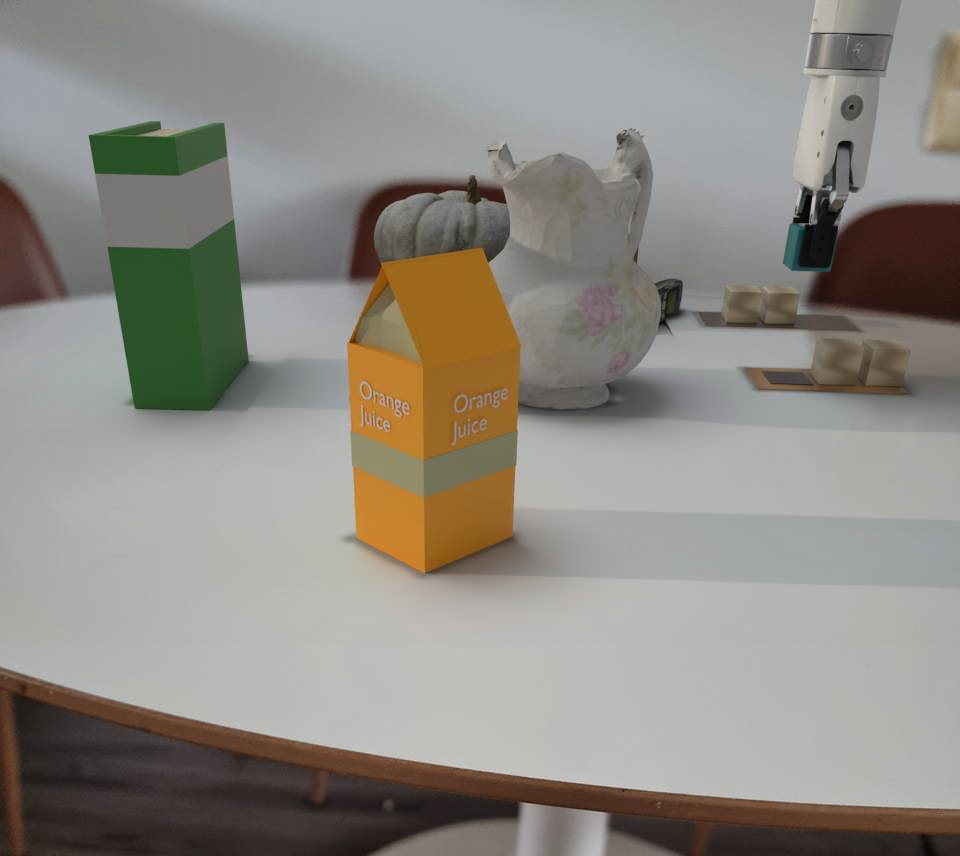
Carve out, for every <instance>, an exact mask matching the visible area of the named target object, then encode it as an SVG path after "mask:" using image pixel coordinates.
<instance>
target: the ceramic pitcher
mask: <svg viewBox="0 0 960 856" xmlns="http://www.w3.org/2000/svg"><path fill="white" fill-rule="evenodd" d="M636 130H637V128H632V127H630V128H629V129H623V130H620V131H619V132H618V134H616V138H615V139H616V148H615V151H614V153H613V156H612V159H611V160H610V161H609V162H608V164H607V165H606V166H605V167H604V168H592V166H590V165H589V164H588V162H587V161H585V160H584V159H581V158H578V157H576V156H574V155H571V154H568V153H566V152H564V151H560V152H557V153H553V154H549V155H547V156H545V157H543V158H541V159H537V160H536V159H535V160H527V161H526V160H521V161H519V162H514V159H513V156H512V153H511V151H510V149H509V146H508V143H507V140H497V141H494V142H492V144H491V145H490V144H489V145H485V146H484V147H485V150H486V151H487V166H488V169H489V173H490V175H491V178H492V179H493V180H494V181H495V182H496V183H497V184H498V185H500V186H502V190H503V193H504V197H505V198H504V199H505V201H506V202H505V203H506V204H507V206H508V210H509V213H510V236H509V238H508V241H507V243H506V245H505V247H504V249H503V250H502V251H501V252H500V253H499V254H498V255H497V256H496V257H495V258H494V259H493V260H491V261H490V262H489V266H490V268H491V271H492V273H493V276H494V278H495V281H496V283H497V286H498V288H499V291H500V293H501V296H502V298H503V301H504V303H505V306H506V309H507V311H508V314H509V316H510V319H511V321H512V324H513V326H514V329H515V331H516V334H517V336H518V339H519V341H520V343H521V346H522V347H521V351H520V373H519V396H518V404H521V405H525V406H529V407H533V408H541V409H549V410H584V409H591V408H593V407H598V406H601V405H604V404H605V403H606V402H608V401H609V397H610V390H609V388H608V386H607V384H610V383H613V382H616V381H618V380H621V379H622V378H624V377H626V376H627V375H628V374H630V373H631V372H632V371H633V370H634V369H635V368H637V367H638V366H639V364H640V363H641V362H642V361H643V359H644V358H645V357H646V355H647V354H648V352H649V351H650V350H651V348H652V345H653V344H654V341H655V339H656V337H657V334H658V331H659V326H660V323H659V321H660V316H661V301H660V297H659V293H658V290H657V288H656V286H655V282H654V280H653V278H652V277H651V276H650V275H649V274H648V272H646V270H644V269H643V268H641V266H639V264H638V262H637V263H636V262H635V261H634V260H633V259H634V255H635V253H636V251H637V248H638V246H640V245H641V244H640V243H641V241H642V239H643V233H644V229H645V228H644V227H645V224H646V219H647V216H648V211H649V207H650V202H651V198H652V189H653V180H654V171H653V166H652V160H651V157H650V155H649V154H650V153H649V152H648V149H647V146H646V145H645V142H644V141H643V138H644V137H645V136H646V135H644V134H643V135H641V133H640V131H636ZM638 249H639V248H638Z"/></svg>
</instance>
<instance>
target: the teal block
mask: <svg viewBox="0 0 960 856" xmlns="http://www.w3.org/2000/svg"><path fill="white" fill-rule="evenodd" d="M805 224H808V223H792V222H790V223H789V226H788V231H787V237H786V243H785V248H784V254H783V259H782V264H783V265H784V266H785V267H786V268H788V269H789V270H790V271H792V272H814V273H815V272H819V273H831V270H832V265H833V261H834V256H835V250H836V247H837V241H838V238H839V237H838V236H839V230H838V231H837V236H836V241H835V246H834V251H833V256H832V261H831V265H830V267H828V268H807V267H800V266H799V265H798V260H799V254H800V249H801V244H802V238H803V233H804V228H805Z"/></svg>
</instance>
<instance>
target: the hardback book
mask: <svg viewBox="0 0 960 856" xmlns="http://www.w3.org/2000/svg"><path fill="white" fill-rule="evenodd" d="M88 140H89V146H90V153H91V158H92V165H93V171H94V177H95V182H96V187H97V188H96V189H97V193H98V200H99V205H100V206H99V207H100V211H101V218H102V223H103V230H104V235H105V236H104V237H105V241H106V247H107V253H108V259H109V265H110V271H111V276H112V283H113V288H114V289H113V290H114V295H115V300H116V306H117V312H118V318H119V324H120V331H121V336H122V342H123V347H124V353H125V359H126V366H127V372H128V378H129V383H130V384H129V385H130V389H131V396H132V401H133V402H132V403H133V407H134V409H149V410H188V411H189V410H191V411H210V410H212V407H213V406H214V405H215V404H216V403H217V401H218V400H219V399H220V397H221V396H223V394H224V392H225V391H226V390H227V389H228V387H229V386H230V385H231V384H232V382H233V381H234V380H235V379H236V377H237V376H238V375H239V374H240V372H241V371H242V370H243V368H244V367H245V366H246V365H247V364H248V362H249V360H250V359H249V358H250V357H249V349H248V340H247V339H248V338H247V329H246V321H245V312H244V311H245V310H244V301H243V292H242V281H241V273H240V263H239V262H240V261H239V254H238V243H237V234H236V224H235V215H234V203H233V195H232V193H233V192H232V185H231V176H230V165H229V155H228V145H227V136H226V127H225V122H212V123H209V124H206V125H201V126H198V127H194V128H192V129H177V128H176V129H174V128H173V129H172V128H162V123H161V121H159V120H158V121H157V120H149V121H145V122H141V123H137V124H132V125H128V126H122V127H118V128H115V129H114V128H113V129H110V130H105V131H100V132H97V133H92V134H88Z"/></svg>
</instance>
